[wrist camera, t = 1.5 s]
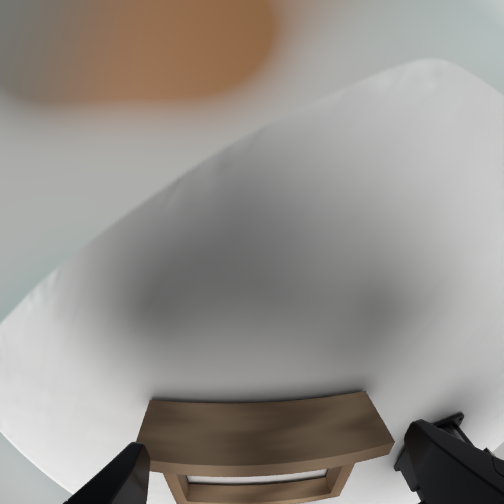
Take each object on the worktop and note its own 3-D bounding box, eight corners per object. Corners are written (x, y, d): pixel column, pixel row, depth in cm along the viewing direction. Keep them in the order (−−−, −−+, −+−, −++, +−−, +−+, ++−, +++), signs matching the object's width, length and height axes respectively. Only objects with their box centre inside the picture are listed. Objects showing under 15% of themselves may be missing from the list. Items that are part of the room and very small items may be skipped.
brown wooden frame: (365, 390, 17) (395, 441, 12) (334, 480, 19) (346, 520, 14) (150, 399, 16) (131, 457, 11) (179, 487, 19) (174, 530, 14)
